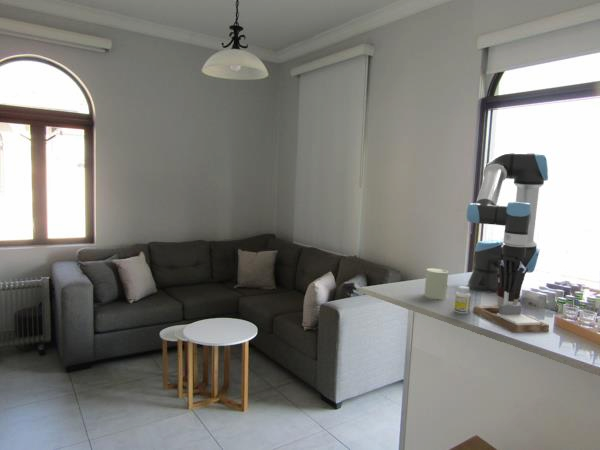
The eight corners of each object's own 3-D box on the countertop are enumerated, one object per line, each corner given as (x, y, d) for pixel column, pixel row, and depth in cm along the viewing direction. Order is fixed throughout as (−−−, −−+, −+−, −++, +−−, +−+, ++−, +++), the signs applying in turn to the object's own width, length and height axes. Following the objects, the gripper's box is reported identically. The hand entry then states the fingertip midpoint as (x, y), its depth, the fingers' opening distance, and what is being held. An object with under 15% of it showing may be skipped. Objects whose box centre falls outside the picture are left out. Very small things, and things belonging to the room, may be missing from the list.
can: (447, 300, 177) (450, 272, 176) (424, 298, 179) (427, 270, 177) (444, 295, 186) (447, 268, 185) (423, 292, 188) (425, 266, 186)
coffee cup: (488, 303, 176) (492, 268, 174) (505, 302, 180) (509, 267, 178) (508, 311, 167) (512, 273, 165) (526, 309, 170) (530, 272, 169)
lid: (519, 315, 154) (520, 304, 153) (540, 324, 144) (541, 313, 144) (496, 315, 152) (497, 304, 151) (516, 325, 142) (518, 313, 141)
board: (504, 311, 166) (505, 305, 166) (548, 331, 145) (549, 324, 144) (473, 311, 163) (473, 305, 162) (513, 332, 141) (514, 325, 141)
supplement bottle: (462, 309, 165) (464, 285, 164) (472, 313, 160) (474, 288, 159) (451, 310, 163) (453, 285, 162) (460, 314, 158) (463, 289, 157)
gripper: (493, 242, 156) (486, 304, 158) (518, 248, 143) (511, 315, 146) (510, 242, 158) (503, 303, 160) (537, 248, 145) (529, 314, 147)
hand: (507, 309), depth 153 cm, fingers closed
